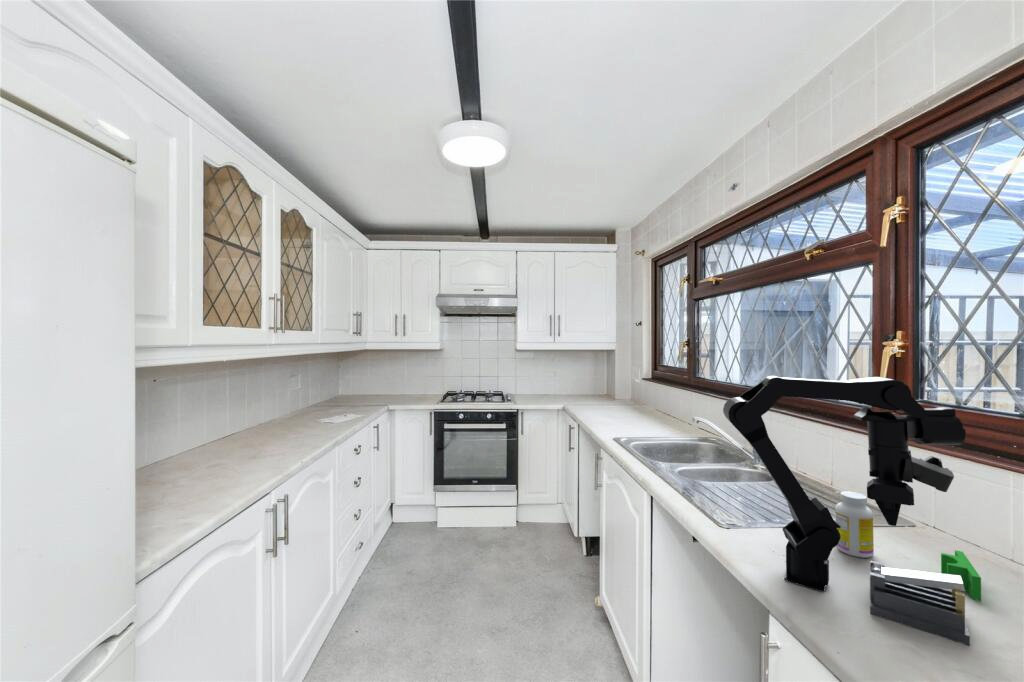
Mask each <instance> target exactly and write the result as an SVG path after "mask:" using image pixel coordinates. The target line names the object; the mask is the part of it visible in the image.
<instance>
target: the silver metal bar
mask: <svg viewBox="0 0 1024 682" xmlns="http://www.w3.org/2000/svg"><path fill="white" fill-rule="evenodd" d="M870 572H872V573H876V574H880V575H883V576H885V581H887V582H895V583H903V584H911V585H919V586H927V587H935V588H943V589H948V590H958V591H960V592H966V590H965V589H964V585H963V582H962V579H961V576H959V575H950V574H941V572H940V573H939V572H938V573H937V572H928V571H921V570H913V569H906V568H905V569H901V568H893V567H882V566H880V565H878V564H873V565H872V566H871V567H870Z"/></svg>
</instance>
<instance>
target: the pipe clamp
mask: <svg viewBox="0 0 1024 682" xmlns="http://www.w3.org/2000/svg"><path fill="white" fill-rule="evenodd" d="M940 553H941V554H940V573H941V574H950V575H959V576H961V579H962V582H963V585H964V589H965V592H967V593H968V594H969V596H970V598H971V599H972V600H974V601H975V600H976V601H980V602H982V577H981V575H980V574H979V573H978V571H977V570H976V569H975V567H974V566H973V564H972V563H971V561H970V560H969V558H968V557H967V555H966V554H965V552H963V551H960V550H956V549H955V550H954V554H948V553H943V552H940Z"/></svg>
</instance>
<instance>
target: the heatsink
mask: <svg viewBox="0 0 1024 682" xmlns="http://www.w3.org/2000/svg"><path fill="white" fill-rule="evenodd" d="M869 563H870V564H869V565H870V568H871V566H872V565H873V564H878V565H880V566H882V567H885V565H886V564H885V563H883V562H879V561H876V560H870V562H869ZM869 585H870V588H869V596H870V597H869V601H870V602H869V605H870V606H869V607H870V608H869V611H870V613H869V614H870V615H873V616H876V617H879V618H881V619H885V620H888V621H890V622H894V623H898V624H901V625H904V626H907V627H910V628H913V629H915V630H916V629H917V630H919V631H922V632H925V633H928V634H931V635H934V636H938V637H942V638H945V639H947V640H951V641H954V642H958V643H960V644H964V645H967V646H971V635H970V633H969V629H968V626H967V623H966V595H965V593H963V592H961V591H958V590H950V589H943V588H935V587H927V586H919V585H911V584H903V583H895V582H887V581H885V576H883V575H880V574H876V573H872V572H871V571H869Z"/></svg>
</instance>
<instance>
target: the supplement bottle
mask: <svg viewBox="0 0 1024 682" xmlns="http://www.w3.org/2000/svg"><path fill="white" fill-rule="evenodd" d="M839 497H840V499H841V502H837V503H836V505H835V506H834V507H835V512H834V513H835V522H836V523H837V524H838V525H839V526H840V527H841V528H837V529H838V531H839V533H840V536H841V539H840V540H839V543H838V544H837V546H836V547H837V549H838V550H839V551H840V552H842V553H844V554H846V555H849V556H852V557H857V558H864V559H865V558H867V559H868V558H871V557H873V555H874V554H875V553H874V550H875V549H874V545H875V544H874V513H873V511H872V509H870V508H869V507H868V506H867V503H868V498H867V495H865V494H862V493H859V492H854V491H849V490H847V491H846V490H845V491H841V492H840V496H839Z"/></svg>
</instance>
